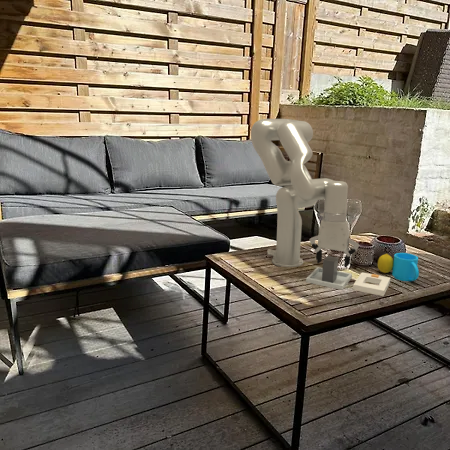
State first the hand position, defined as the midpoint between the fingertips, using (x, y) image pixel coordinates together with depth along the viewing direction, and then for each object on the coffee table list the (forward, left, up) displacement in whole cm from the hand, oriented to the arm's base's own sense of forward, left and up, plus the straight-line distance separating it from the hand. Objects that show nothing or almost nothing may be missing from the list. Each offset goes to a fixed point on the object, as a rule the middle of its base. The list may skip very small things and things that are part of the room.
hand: (332, 264), depth 149 cm
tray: (-1, 0, -7) cm, 7 cm away
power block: (+14, +2, -7) cm, 15 cm away
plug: (-1, 0, -6) cm, 6 cm away
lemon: (+15, +18, -7) cm, 25 cm away
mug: (+23, +17, -7) cm, 30 cm away
